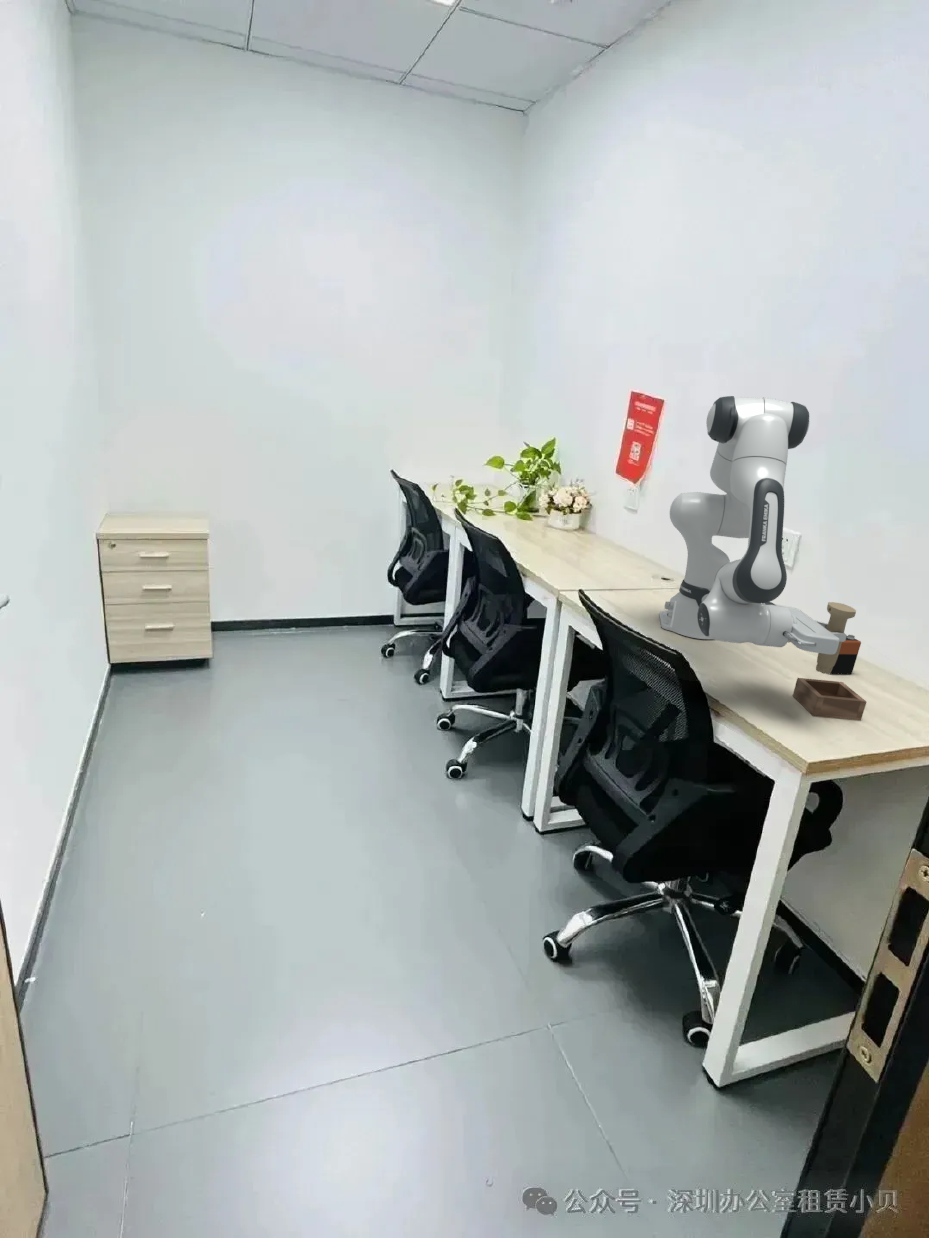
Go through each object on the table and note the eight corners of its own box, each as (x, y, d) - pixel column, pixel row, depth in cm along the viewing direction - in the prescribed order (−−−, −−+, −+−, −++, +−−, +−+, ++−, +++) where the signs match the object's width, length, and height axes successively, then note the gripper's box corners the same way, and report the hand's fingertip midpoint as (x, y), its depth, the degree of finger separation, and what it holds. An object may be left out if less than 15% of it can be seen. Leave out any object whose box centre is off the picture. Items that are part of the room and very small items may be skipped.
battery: (818, 668, 179) (828, 631, 176) (840, 668, 180) (851, 632, 177) (829, 674, 175) (840, 638, 172) (852, 675, 176) (863, 638, 173)
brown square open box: (792, 695, 160) (797, 677, 158) (837, 699, 160) (842, 681, 158) (813, 716, 150) (818, 697, 148) (860, 720, 150) (866, 701, 148)
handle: (826, 666, 155) (845, 603, 150) (841, 678, 149) (861, 612, 144) (805, 664, 155) (823, 601, 150) (819, 676, 149) (838, 610, 144)
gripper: (799, 629, 138) (868, 636, 138) (760, 598, 157) (821, 604, 157) (791, 658, 140) (859, 665, 140) (754, 624, 159) (813, 630, 160)
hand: (838, 632), depth 149 cm, fingers closed on handle, 4 cm apart
